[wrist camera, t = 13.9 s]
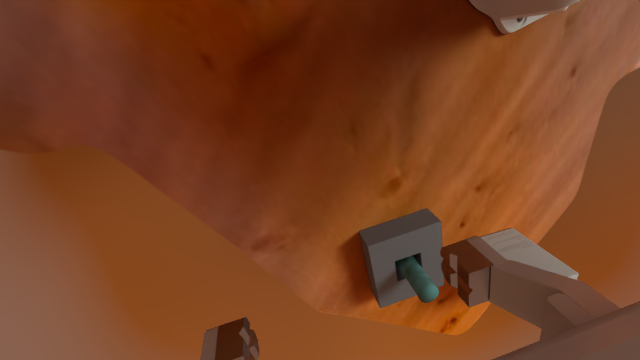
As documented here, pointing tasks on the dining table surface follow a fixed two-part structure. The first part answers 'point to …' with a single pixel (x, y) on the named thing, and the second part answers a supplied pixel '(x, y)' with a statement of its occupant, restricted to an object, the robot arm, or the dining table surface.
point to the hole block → (402, 254)
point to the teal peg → (418, 279)
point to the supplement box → (526, 252)
